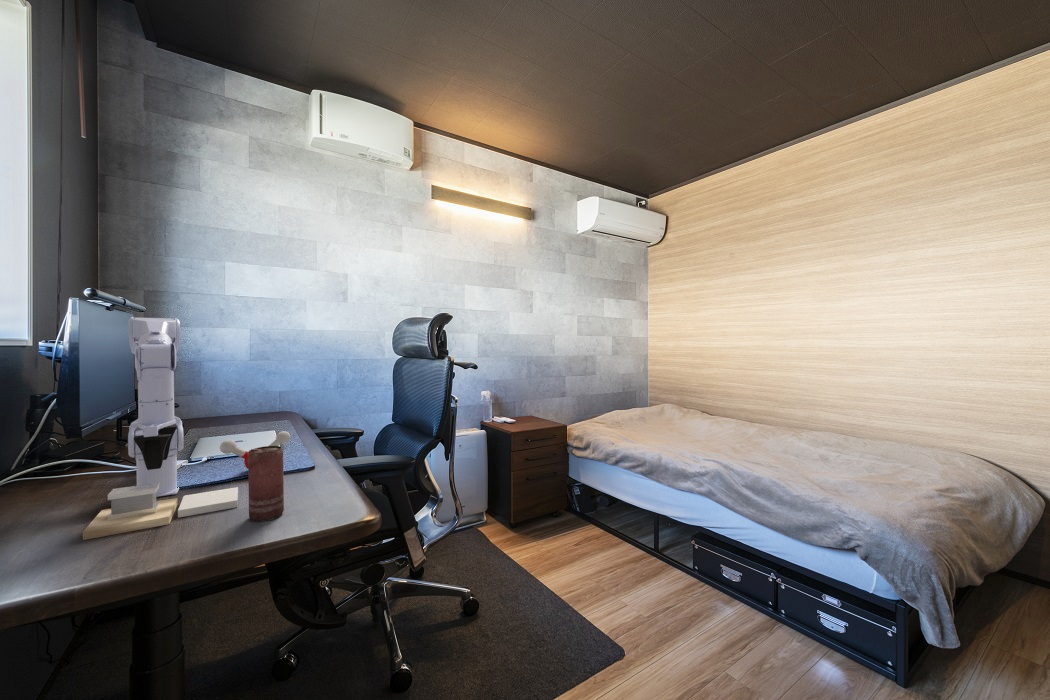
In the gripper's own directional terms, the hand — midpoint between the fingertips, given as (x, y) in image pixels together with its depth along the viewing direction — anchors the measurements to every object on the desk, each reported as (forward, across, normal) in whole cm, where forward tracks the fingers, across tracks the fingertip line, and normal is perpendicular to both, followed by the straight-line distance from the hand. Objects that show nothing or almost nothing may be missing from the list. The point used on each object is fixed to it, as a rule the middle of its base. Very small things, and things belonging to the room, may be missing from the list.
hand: (157, 464), depth 89 cm
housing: (+8, +4, -3) cm, 10 cm away
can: (+10, +16, +19) cm, 27 cm away
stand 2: (+10, +2, +9) cm, 14 cm away
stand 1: (+10, +4, -3) cm, 11 cm away
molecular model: (+10, -22, +18) cm, 30 cm away
